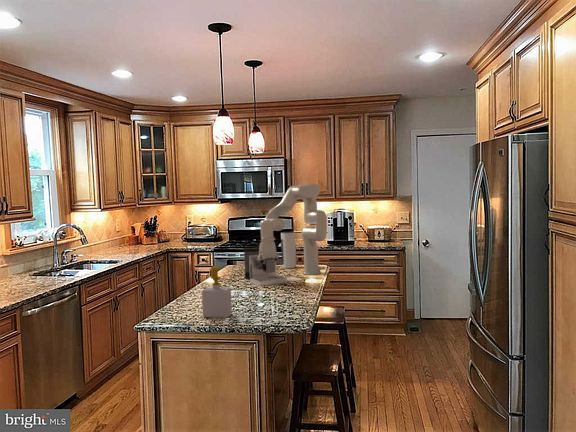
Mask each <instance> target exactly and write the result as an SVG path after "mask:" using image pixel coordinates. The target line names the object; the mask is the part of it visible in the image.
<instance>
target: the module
mask: <svg viewBox="0 0 576 432" xmlns="http://www.w3.org/2000/svg"><path fill="white" fill-rule="evenodd" d="M265 264H266V271H265V270H263V272H266V273H272V272H275V259H272V258H271V259H266V262H265Z"/></svg>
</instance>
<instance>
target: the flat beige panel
mask: <svg viewBox="0 0 576 432" xmlns="http://www.w3.org/2000/svg"><path fill="white" fill-rule="evenodd" d="M286 278H287V283H288V282H289V283H291V282H292V283H293V282H297V281H304V279H302V278H299V277H295V276H290V277H286Z"/></svg>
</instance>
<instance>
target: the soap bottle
mask: <svg viewBox="0 0 576 432" xmlns="http://www.w3.org/2000/svg"><path fill="white" fill-rule="evenodd" d="M219 268H220V265H212V266H211V268H210V278H211V279H212V281H214V282H212V287H205V288H204V289H202V291H201V298H202V299H201V302H202V317H203V318H205V317H209V318H211V319H212V318H214V319H215V318H219V319H225V318H226V319H227V318H229V317H230V316H232V313H233V308H232V307H233V306H232V289H231V287H221V283H220V282H219V281H220V278H221V276H219V275H218V274H219V273H218V272H219ZM209 318H208V319H209Z"/></svg>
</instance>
